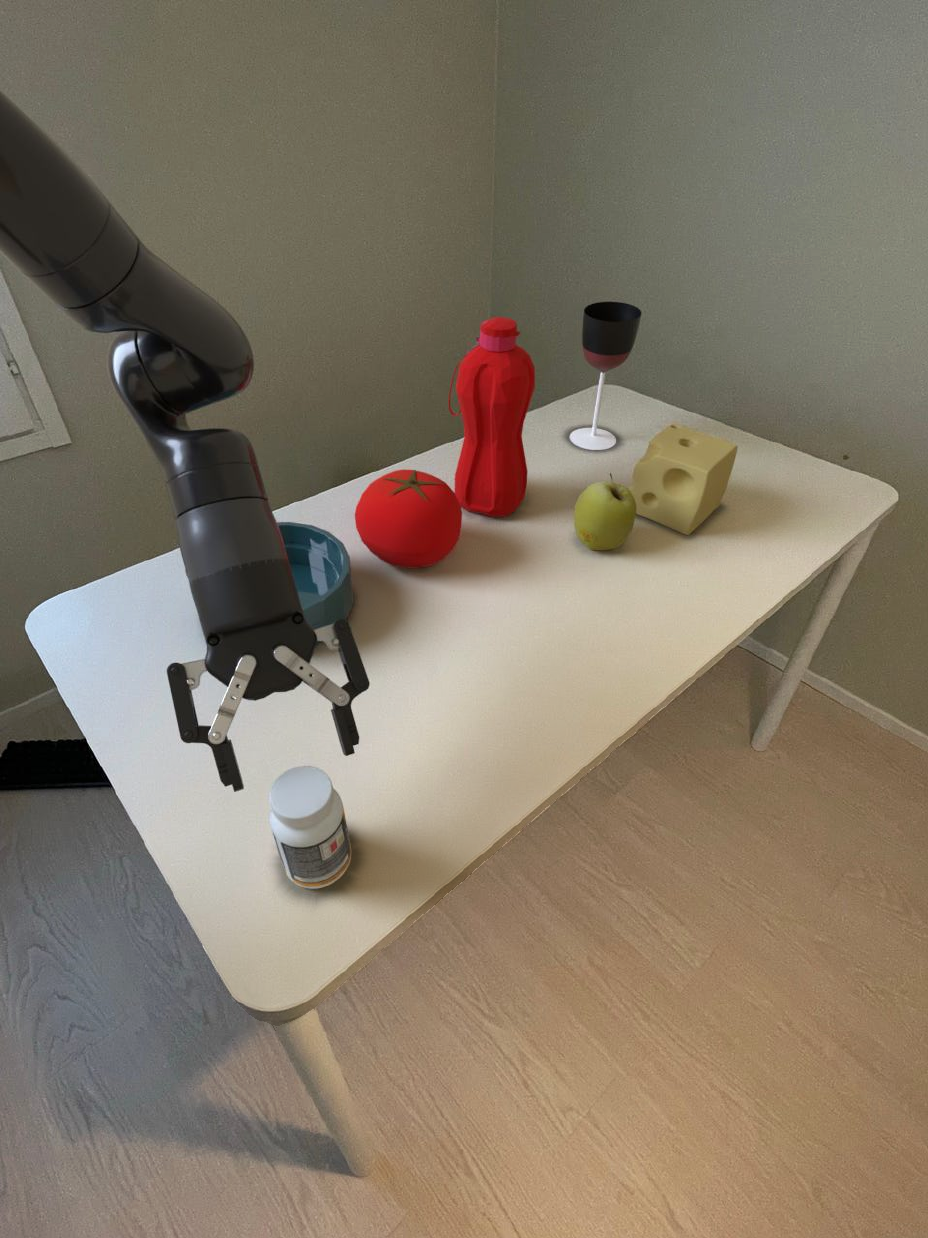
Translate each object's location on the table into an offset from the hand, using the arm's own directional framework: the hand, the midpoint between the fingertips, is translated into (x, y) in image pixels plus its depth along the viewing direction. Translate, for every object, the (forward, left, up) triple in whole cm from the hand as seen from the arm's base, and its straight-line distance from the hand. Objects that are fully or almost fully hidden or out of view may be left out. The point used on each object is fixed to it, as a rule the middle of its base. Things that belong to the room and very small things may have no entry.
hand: (295, 771), depth 54 cm
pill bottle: (0, -2, -10) cm, 10 cm away
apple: (+46, +28, -10) cm, 55 cm away
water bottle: (+36, +43, -10) cm, 57 cm away
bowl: (+4, +31, -9) cm, 32 cm away
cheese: (+60, +31, -10) cm, 68 cm away
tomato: (+22, +35, -10) cm, 42 cm away
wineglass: (+60, +53, -10) cm, 80 cm away
